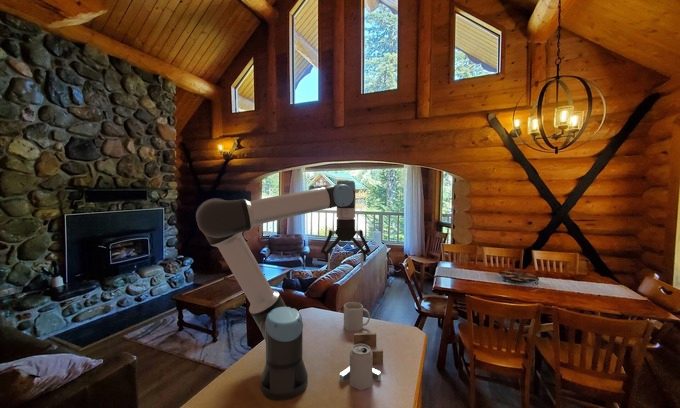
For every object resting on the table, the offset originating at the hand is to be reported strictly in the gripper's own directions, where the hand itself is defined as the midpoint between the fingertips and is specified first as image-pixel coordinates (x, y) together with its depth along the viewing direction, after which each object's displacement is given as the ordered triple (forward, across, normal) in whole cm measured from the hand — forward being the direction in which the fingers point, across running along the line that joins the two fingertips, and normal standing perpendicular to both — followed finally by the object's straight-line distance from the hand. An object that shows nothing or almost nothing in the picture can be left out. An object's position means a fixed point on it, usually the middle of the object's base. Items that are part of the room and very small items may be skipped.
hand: (345, 269), depth 117 cm
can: (+31, +3, -25) cm, 40 cm away
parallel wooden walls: (+31, +8, -9) cm, 33 cm away
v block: (+31, +3, -21) cm, 37 cm away
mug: (+31, +6, +13) cm, 34 cm away
